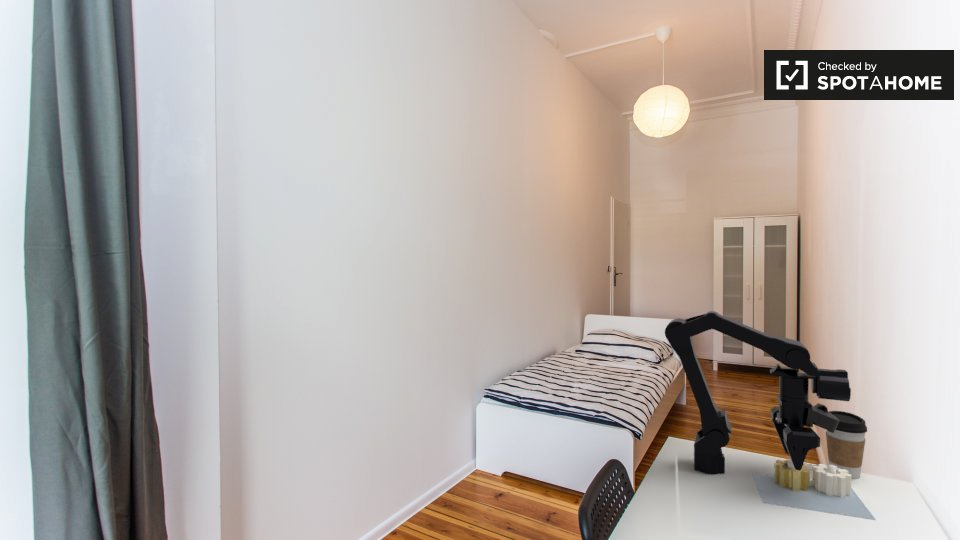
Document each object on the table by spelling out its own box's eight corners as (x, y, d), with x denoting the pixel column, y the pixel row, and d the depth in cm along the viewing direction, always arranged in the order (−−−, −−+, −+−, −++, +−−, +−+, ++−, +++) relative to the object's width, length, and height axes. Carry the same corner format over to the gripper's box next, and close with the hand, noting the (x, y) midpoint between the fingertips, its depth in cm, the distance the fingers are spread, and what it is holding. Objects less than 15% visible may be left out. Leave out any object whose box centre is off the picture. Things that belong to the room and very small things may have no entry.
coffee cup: (851, 469, 121) (852, 410, 120) (875, 485, 113) (876, 422, 112) (815, 468, 122) (816, 410, 121) (837, 484, 114) (838, 422, 113)
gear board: (763, 506, 104) (763, 477, 104) (751, 475, 118) (752, 450, 118) (876, 523, 97) (876, 493, 97) (849, 489, 111) (850, 462, 111)
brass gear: (813, 493, 108) (814, 474, 108) (777, 488, 110) (778, 469, 110) (805, 479, 114) (805, 461, 114) (771, 475, 117) (771, 457, 117)
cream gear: (827, 497, 106) (828, 478, 106) (805, 482, 113) (805, 464, 113) (858, 497, 106) (859, 477, 106) (834, 481, 113) (835, 463, 113)
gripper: (849, 411, 100) (848, 485, 100) (822, 387, 117) (821, 450, 118) (787, 406, 104) (786, 477, 104) (770, 383, 121) (769, 444, 122)
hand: (792, 461), depth 112 cm, fingers open, 9 cm apart
